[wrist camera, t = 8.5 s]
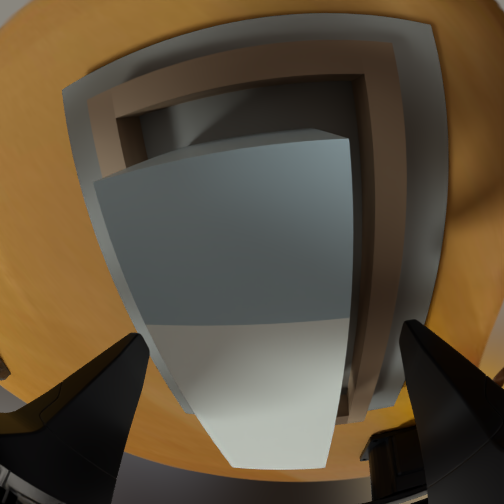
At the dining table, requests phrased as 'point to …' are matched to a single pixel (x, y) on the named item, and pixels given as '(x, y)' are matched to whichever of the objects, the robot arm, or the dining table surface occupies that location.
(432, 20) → the dining table surface
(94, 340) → the dining table surface
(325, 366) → the pale grey rectangular block
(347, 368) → the cradle jig
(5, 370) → the worn brown figurine
